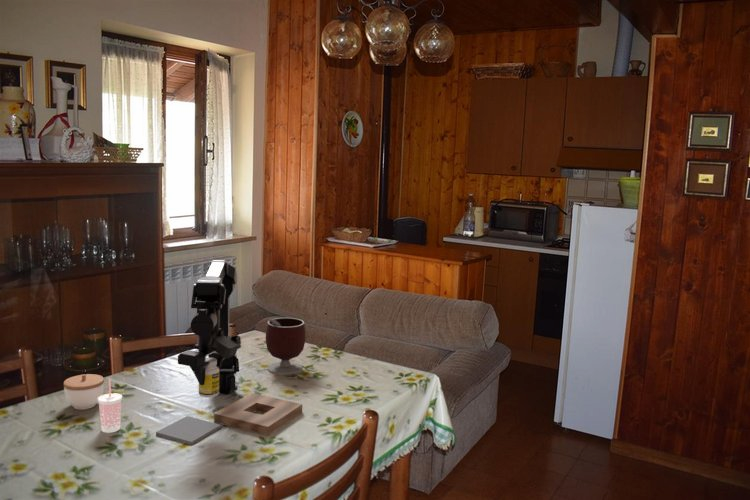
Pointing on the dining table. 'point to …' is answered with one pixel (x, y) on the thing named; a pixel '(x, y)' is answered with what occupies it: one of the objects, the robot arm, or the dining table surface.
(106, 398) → the beverage cup
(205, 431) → the pad
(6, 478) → the dining table surface
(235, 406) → the holder block
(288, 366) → the mate gourd
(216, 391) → the supplement bottle
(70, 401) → the lidded jar
